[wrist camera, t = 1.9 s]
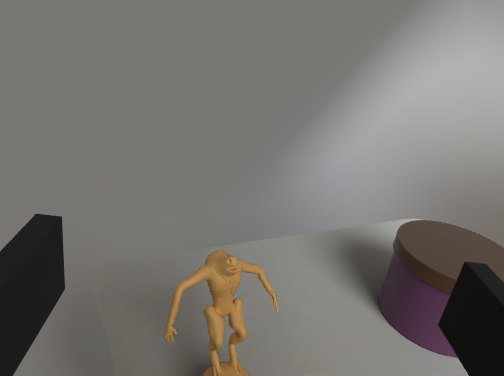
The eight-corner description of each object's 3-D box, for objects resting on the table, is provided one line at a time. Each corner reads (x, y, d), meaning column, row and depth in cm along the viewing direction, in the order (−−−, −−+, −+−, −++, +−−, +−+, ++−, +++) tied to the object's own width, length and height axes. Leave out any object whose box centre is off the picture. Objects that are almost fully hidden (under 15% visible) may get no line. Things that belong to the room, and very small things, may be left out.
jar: (413, 363, 36) (444, 290, 33) (357, 280, 46) (376, 218, 43) (520, 357, 39) (558, 289, 36) (445, 280, 49) (470, 221, 46)
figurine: (176, 465, 26) (195, 313, 21) (146, 388, 30) (155, 248, 25) (285, 414, 30) (322, 278, 25) (244, 353, 34) (268, 228, 30)
